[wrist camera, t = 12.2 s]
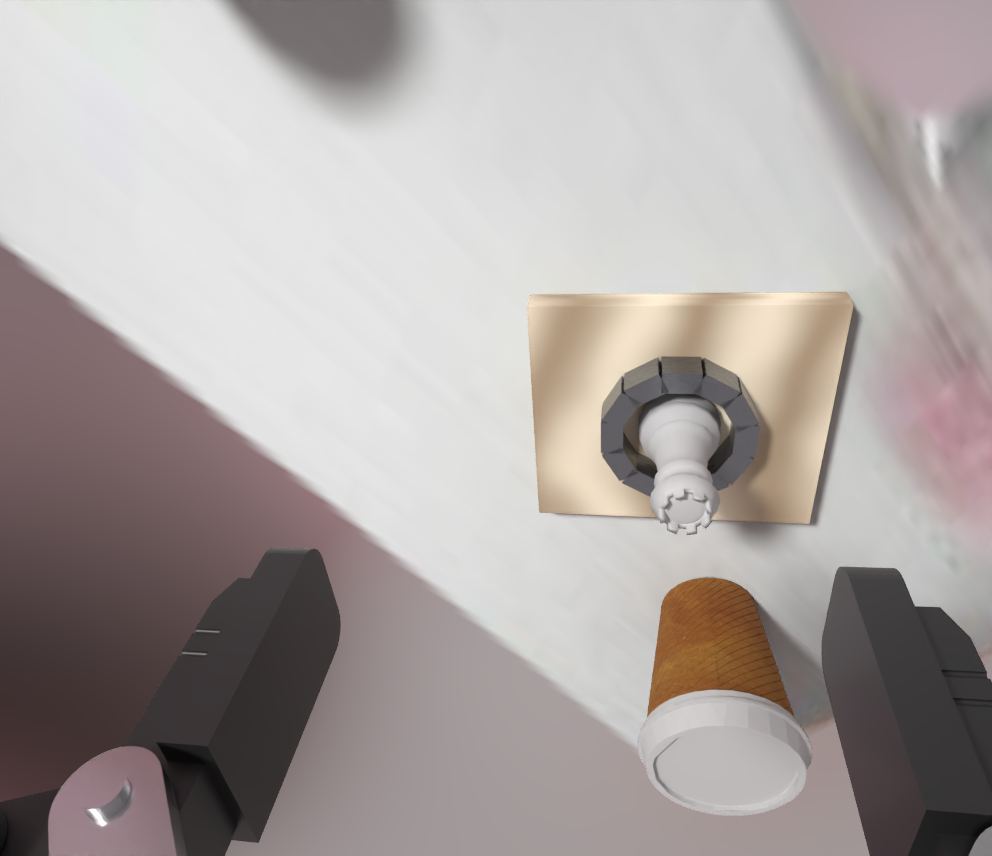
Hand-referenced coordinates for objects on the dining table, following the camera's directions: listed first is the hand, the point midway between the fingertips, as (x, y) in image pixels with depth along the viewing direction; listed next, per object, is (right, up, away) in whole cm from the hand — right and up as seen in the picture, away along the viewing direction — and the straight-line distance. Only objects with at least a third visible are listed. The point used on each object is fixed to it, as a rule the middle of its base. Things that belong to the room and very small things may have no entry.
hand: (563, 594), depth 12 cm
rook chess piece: (+9, +3, +30) cm, 31 cm away
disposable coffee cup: (+14, -10, +39) cm, 43 cm away
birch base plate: (+9, +4, +31) cm, 32 cm away
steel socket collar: (+9, +3, +29) cm, 31 cm away
